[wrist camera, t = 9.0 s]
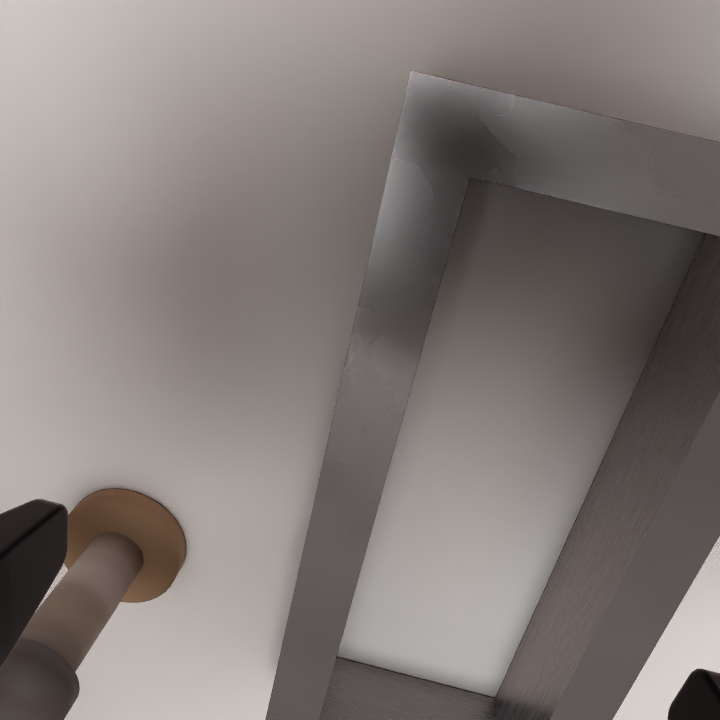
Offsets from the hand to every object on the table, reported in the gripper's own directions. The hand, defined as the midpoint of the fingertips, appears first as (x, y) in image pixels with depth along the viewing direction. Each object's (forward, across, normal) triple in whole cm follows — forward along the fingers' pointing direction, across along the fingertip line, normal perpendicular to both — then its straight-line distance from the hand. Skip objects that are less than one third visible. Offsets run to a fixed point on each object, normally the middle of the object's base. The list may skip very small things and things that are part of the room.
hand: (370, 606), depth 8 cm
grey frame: (+9, -3, +3) cm, 10 cm away
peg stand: (+9, +7, +9) cm, 14 cm away
